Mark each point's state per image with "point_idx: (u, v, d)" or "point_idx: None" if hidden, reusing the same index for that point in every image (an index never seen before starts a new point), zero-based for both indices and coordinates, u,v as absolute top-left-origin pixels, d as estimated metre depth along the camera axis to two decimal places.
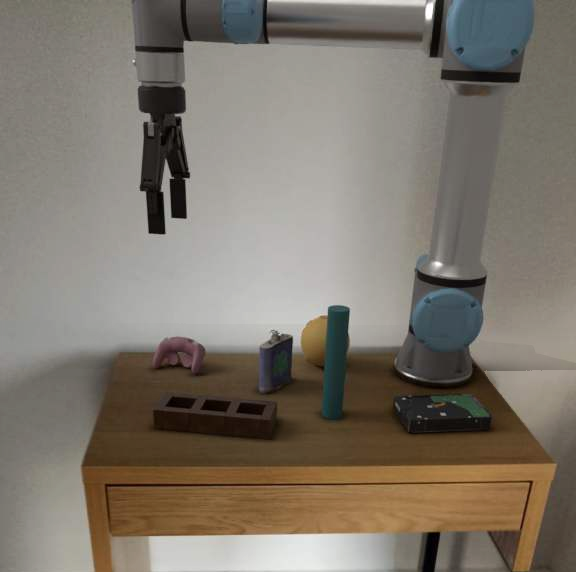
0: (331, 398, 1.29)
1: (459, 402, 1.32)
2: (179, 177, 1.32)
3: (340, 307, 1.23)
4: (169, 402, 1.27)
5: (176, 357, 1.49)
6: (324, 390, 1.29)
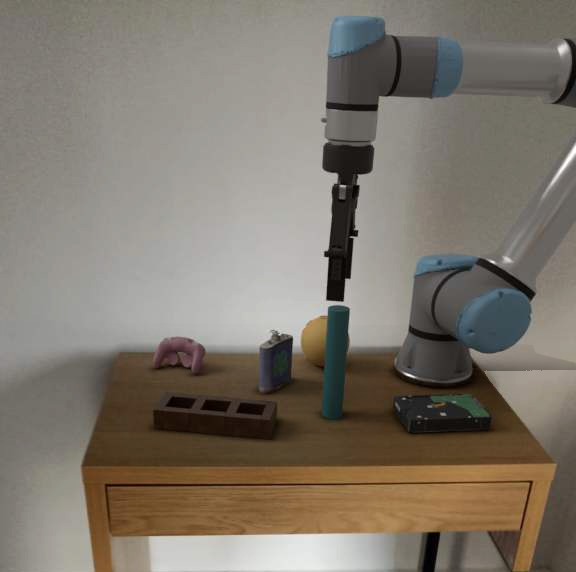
0: (331, 398, 1.29)
1: (459, 402, 1.32)
2: (347, 235, 1.23)
3: (340, 307, 1.23)
4: (169, 402, 1.27)
5: (176, 357, 1.49)
6: (324, 390, 1.29)
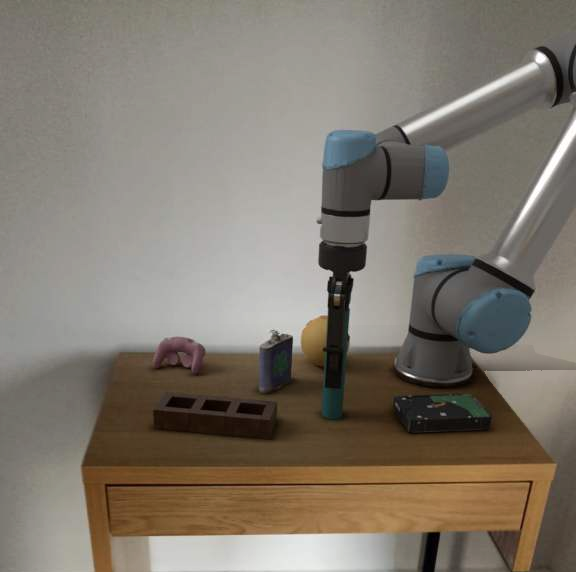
0: (331, 398, 1.29)
1: (459, 402, 1.32)
2: None
3: None
4: (169, 402, 1.27)
5: (176, 357, 1.49)
6: (324, 390, 1.29)
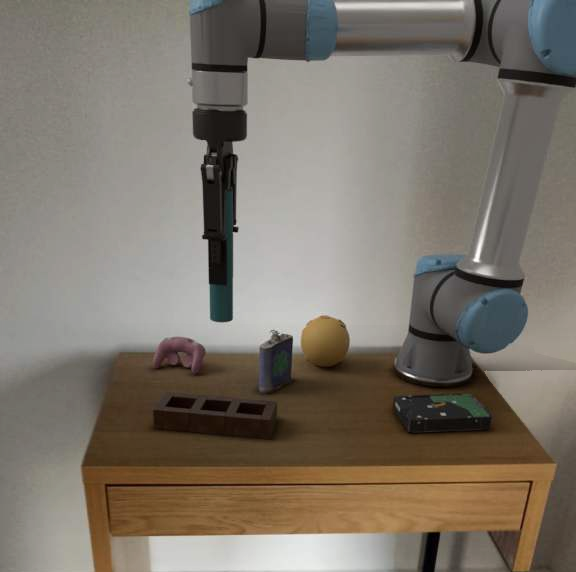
0: (218, 297, 1.15)
1: (459, 402, 1.32)
2: None
3: None
4: (169, 402, 1.27)
5: (176, 357, 1.49)
6: (210, 288, 1.15)
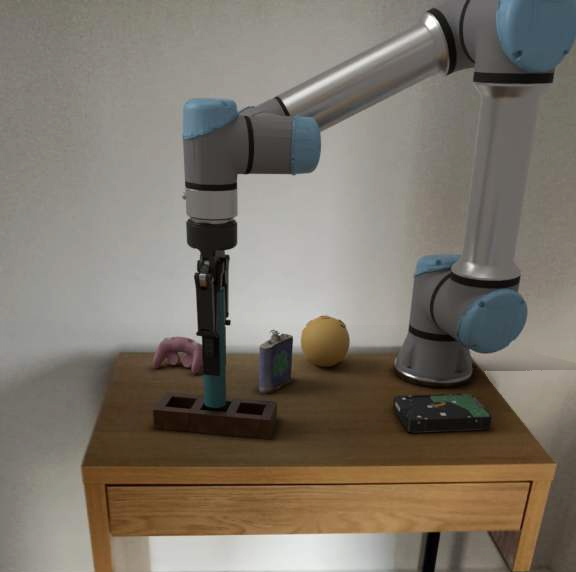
0: (212, 386, 1.22)
1: (459, 402, 1.32)
2: None
3: None
4: (169, 402, 1.27)
5: (176, 357, 1.49)
6: (204, 377, 1.22)
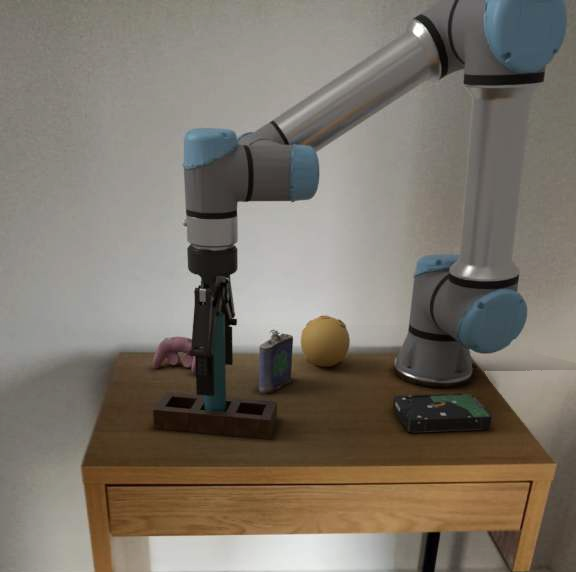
0: (212, 407, 1.24)
1: (459, 402, 1.32)
2: (225, 324, 1.26)
3: None
4: (169, 402, 1.27)
5: (176, 357, 1.49)
6: (204, 399, 1.24)
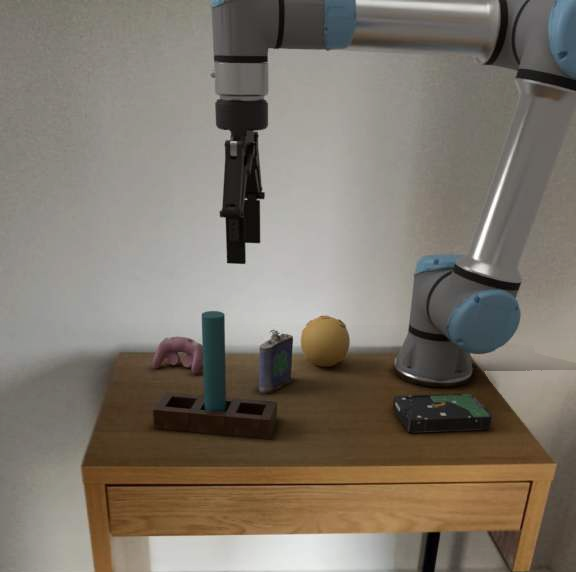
0: (212, 407, 1.24)
1: (459, 402, 1.32)
2: (253, 198, 1.20)
3: (215, 313, 1.18)
4: (169, 402, 1.27)
5: (176, 357, 1.49)
6: (204, 399, 1.24)
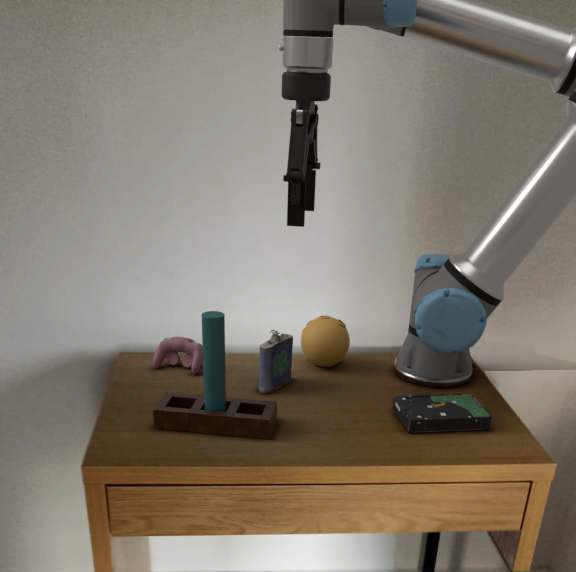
0: (212, 407, 1.24)
1: (459, 402, 1.32)
2: (309, 168, 1.28)
3: (215, 313, 1.18)
4: (169, 402, 1.27)
5: (176, 357, 1.49)
6: (204, 399, 1.24)
